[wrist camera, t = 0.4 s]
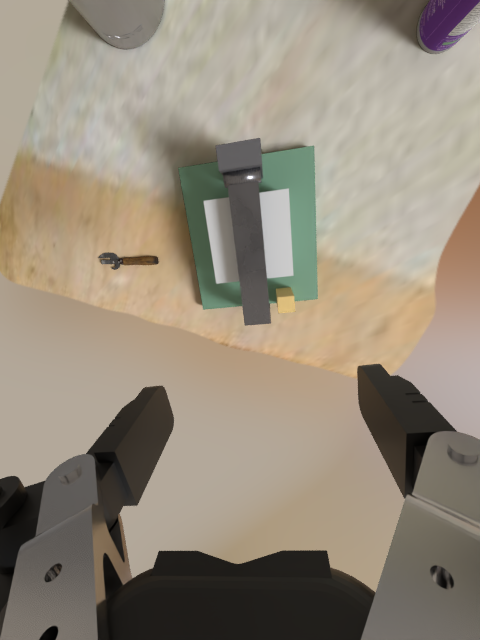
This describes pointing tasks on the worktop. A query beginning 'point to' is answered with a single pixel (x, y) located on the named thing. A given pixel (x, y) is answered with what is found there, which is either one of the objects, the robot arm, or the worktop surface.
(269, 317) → the strap
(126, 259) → the can opener
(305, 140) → the worktop surface
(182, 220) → the worktop surface
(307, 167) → the cpu board
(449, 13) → the container
